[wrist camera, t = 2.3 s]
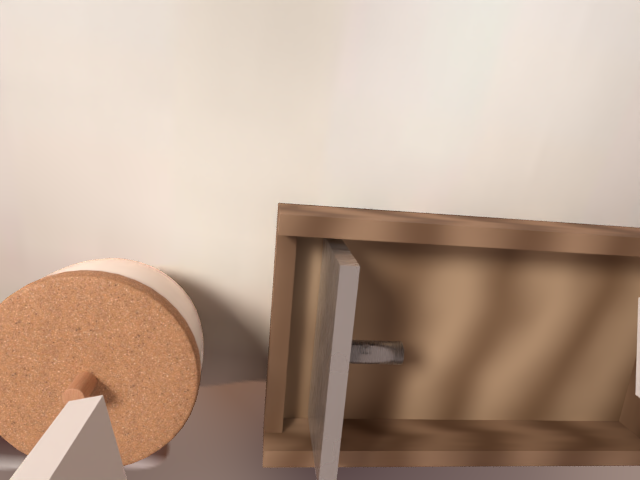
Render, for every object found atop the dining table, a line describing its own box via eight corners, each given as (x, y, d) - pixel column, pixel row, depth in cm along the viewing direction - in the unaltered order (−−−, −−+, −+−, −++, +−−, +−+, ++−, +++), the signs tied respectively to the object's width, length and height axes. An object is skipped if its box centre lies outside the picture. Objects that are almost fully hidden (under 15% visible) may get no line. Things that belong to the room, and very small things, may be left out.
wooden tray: (263, 427, 33) (261, 519, 25) (278, 203, 29) (281, 229, 21) (637, 429, 37) (737, 510, 29) (693, 231, 33) (823, 262, 25)
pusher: (307, 414, 32) (317, 488, 25) (323, 234, 29) (340, 265, 22) (376, 415, 32) (404, 487, 26) (399, 239, 30) (437, 270, 23)
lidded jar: (224, 249, 29) (205, 302, 20) (206, 396, 32) (182, 502, 23) (48, 227, 28) (-58, 273, 19) (43, 383, 30) (-54, 491, 21)
